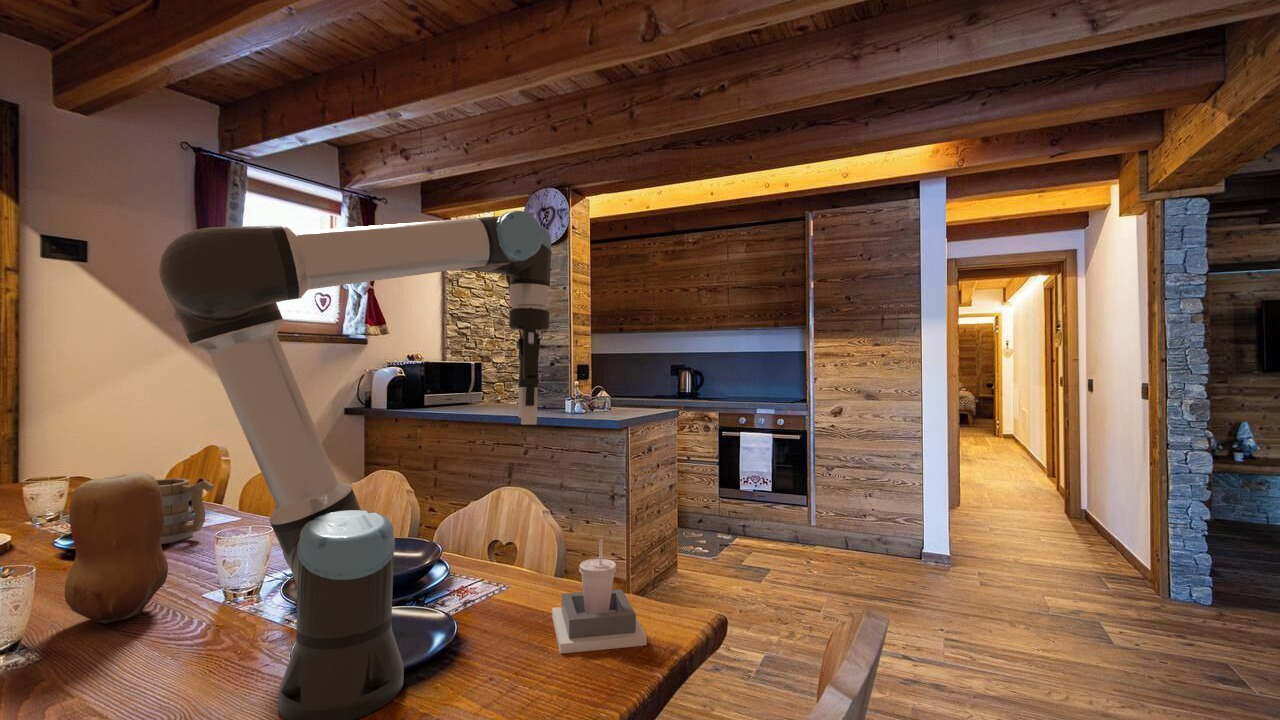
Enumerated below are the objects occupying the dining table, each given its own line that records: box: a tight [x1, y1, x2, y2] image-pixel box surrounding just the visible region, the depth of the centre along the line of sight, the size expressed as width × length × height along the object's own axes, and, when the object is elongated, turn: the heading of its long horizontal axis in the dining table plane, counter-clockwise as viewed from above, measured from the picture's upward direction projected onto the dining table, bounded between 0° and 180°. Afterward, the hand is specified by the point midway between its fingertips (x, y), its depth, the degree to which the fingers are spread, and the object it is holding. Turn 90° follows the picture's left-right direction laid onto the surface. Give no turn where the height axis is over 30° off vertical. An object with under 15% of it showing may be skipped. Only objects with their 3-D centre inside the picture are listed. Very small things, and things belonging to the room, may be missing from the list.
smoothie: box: [578, 538, 617, 615], centre depth 100 cm, size 6×6×14 cm
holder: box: [551, 588, 648, 655], centre depth 99 cm, size 14×14×4 cm
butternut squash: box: [64, 471, 169, 625], centre depth 100 cm, size 14×13×25 cm
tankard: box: [156, 478, 215, 545], centre depth 145 cm, size 20×13×15 cm, turn 80°
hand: (526, 420), depth 110 cm, fingers open, 13 cm apart
